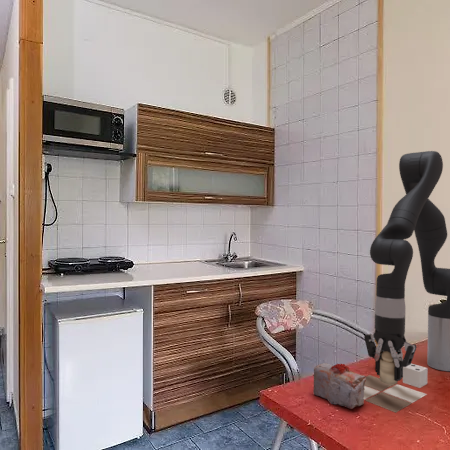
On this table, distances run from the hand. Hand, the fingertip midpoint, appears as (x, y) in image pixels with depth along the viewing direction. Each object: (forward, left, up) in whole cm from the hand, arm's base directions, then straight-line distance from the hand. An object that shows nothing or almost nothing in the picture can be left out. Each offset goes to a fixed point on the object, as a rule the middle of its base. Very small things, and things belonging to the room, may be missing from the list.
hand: (388, 377), depth 106 cm
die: (-19, -2, -7) cm, 20 cm away
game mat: (-5, -5, -7) cm, 9 cm away
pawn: (0, 0, -1) cm, 1 cm away
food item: (+9, -9, -7) cm, 15 cm away
